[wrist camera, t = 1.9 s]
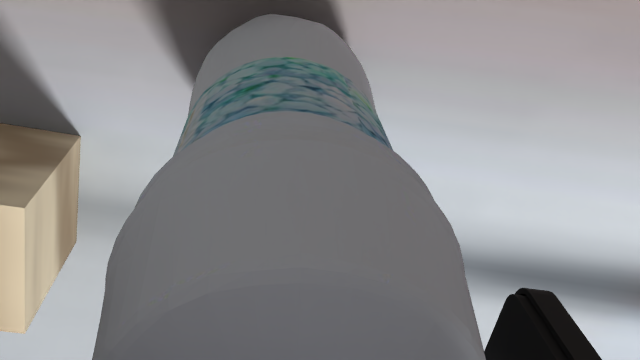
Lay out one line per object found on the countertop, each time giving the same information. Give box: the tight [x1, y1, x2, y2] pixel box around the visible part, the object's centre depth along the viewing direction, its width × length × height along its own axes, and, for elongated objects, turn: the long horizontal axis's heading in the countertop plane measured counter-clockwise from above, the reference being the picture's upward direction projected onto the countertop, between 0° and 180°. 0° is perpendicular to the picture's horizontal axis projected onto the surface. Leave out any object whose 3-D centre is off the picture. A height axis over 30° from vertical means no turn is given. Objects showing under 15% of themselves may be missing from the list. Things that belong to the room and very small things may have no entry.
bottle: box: [92, 14, 486, 360], centre depth 15 cm, size 7×7×20 cm
